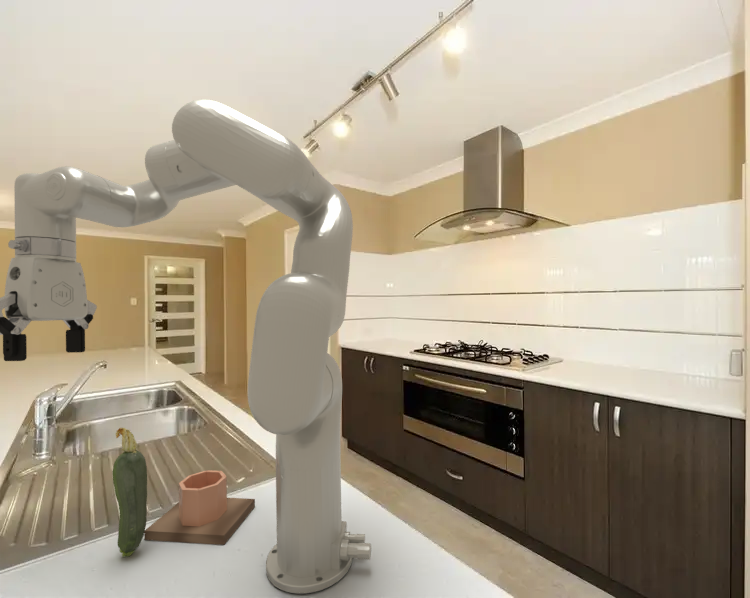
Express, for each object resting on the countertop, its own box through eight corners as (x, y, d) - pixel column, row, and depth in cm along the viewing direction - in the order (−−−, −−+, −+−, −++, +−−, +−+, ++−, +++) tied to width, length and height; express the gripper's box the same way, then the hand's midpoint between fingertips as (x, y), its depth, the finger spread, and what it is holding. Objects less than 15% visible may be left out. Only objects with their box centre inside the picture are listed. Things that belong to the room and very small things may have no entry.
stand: (254, 506, 69) (254, 498, 69) (224, 544, 58) (224, 535, 58) (186, 503, 71) (186, 495, 71) (144, 539, 60) (144, 530, 60)
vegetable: (153, 547, 58) (152, 421, 58) (136, 566, 54) (135, 431, 54) (125, 548, 58) (124, 422, 58) (106, 567, 54) (105, 432, 54)
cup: (232, 503, 68) (232, 471, 68) (210, 527, 61) (210, 490, 61) (196, 501, 69) (196, 469, 69) (171, 524, 61) (170, 489, 62)
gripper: (7, 242, 51) (8, 364, 51) (111, 258, 68) (112, 349, 68) (-39, 244, 52) (-38, 365, 51) (75, 259, 69) (76, 349, 69)
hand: (47, 356), depth 60 cm, fingers open, 9 cm apart
